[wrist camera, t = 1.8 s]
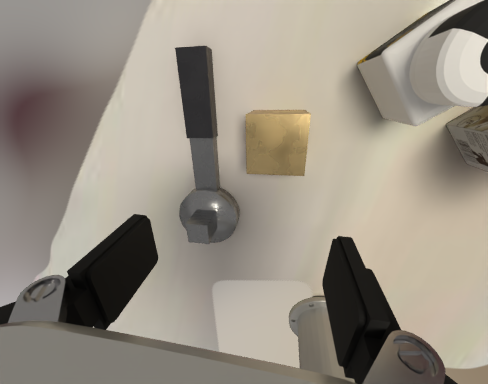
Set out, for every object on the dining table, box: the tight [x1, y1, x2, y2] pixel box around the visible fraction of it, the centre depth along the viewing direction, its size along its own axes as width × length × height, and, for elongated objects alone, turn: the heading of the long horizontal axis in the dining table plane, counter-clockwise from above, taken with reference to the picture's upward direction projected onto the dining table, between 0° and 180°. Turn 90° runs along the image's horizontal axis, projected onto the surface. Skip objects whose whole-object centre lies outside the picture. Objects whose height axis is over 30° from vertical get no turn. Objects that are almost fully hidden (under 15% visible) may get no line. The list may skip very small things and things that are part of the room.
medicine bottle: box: [357, 0, 488, 126], centre depth 17 cm, size 7×7×12 cm
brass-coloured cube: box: [246, 110, 311, 176], centre depth 25 cm, size 6×6×6 cm
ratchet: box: [175, 46, 239, 244], centre depth 28 cm, size 9×26×6 cm, turn 1°
